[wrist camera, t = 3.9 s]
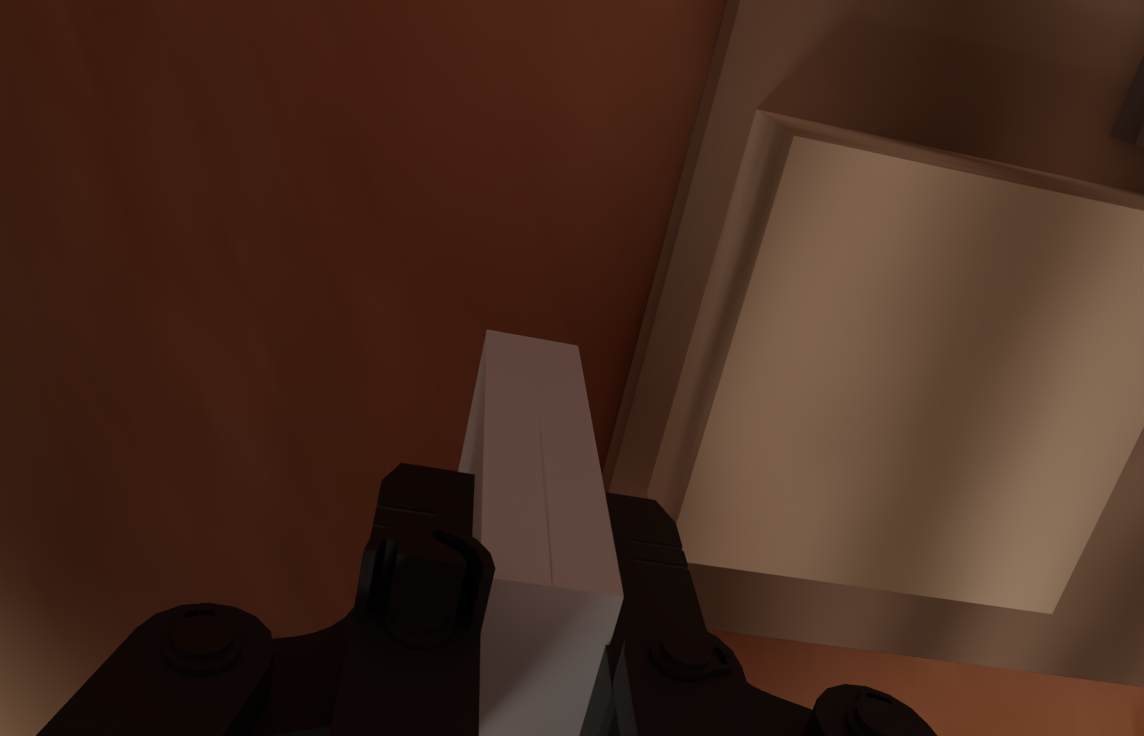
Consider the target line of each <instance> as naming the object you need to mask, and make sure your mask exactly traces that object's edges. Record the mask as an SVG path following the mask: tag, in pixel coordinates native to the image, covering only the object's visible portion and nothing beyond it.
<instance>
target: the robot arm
mask: <svg viewBox="0 0 1144 736" xmlns="http://www.w3.org/2000/svg"><path fill="white" fill-rule="evenodd" d="M682 547H683V546H682V542H681V539H680V536H679V532H678V529H677V525H676V522H675V521H674V520H673V519H672V518H671V517H670V516H669V515H668V513H667V512H666V511H665V510H664V509H663V508H662V507H661V506H660V504H659V503H658V502H657V501H656V500H653V499H647V498H640V497H634V496H627V495H621V494H615V493H608V492H605V491H604V485H603V480H602V474H601V469H600V463H599V458H598V452H597V447H596V441H595V436H594V430H593V425H592V419H591V414H590V408H589V403H588V397H587V392H586V386H585V381H584V375H583V370H582V364H581V359H580V353H579V348H578V346H577V345H572V344H566V343H560V342H555V341H549V340H544V339H538V338H532V337H527V336H521V335H516V334H510V333H504V332H499V331H493V330H487V331H486V336H485V340H484V345H483V350H482V355H481V360H480V365H479V370H478V375H477V380H476V385H475V390H474V395H473V400H472V405H471V410H470V415H469V420H468V425H467V430H466V435H465V440H464V445H463V450H462V455H461V460H460V465H459V470H458V472H457V471H450V470H444V469H438V468H431V467H425V466H418V465H412V464H406V463H401V464H400V465H398V466H397V467H396V468H395V469H394V470H393V471H392V472H391V473H390V474H388V475H387V476H386V477H385V478H384V479H383V480H382V482H381V487H380V492H379V497H378V502H377V508H376V512H375V517H374V522H373V527H372V532H371V537H370V540H369V542H368V543H367V545H366V547H365V549H364V552H363V558H362V564H361V570H360V576H359V582H358V588H357V594H356V600H355V606H354V608H353V609H352V610H351V611H350V612H349V613H348V614H347V616H346V617H345V618H343V619H342V620H340V621H339V622H337V623H336V624H334V625H333V626H331V627H328V628H326V629H323V630H320V631H318V632H315V633H311V634H306V635H300V636H295V637H286V638H276V639H272V635H271V631H270V630H269V629H268V628H267V627H266V626H265V625H264V624H263V623H262V622H261V621H260V620H259V619H258V618H257V617H256V616H253V615H251V614H249V613H247V612H245V611H243V610H240V609H238V608H236V607H232V606H226V605H219V604H213V603H201V604H189V605H180V606H177V607H174V608H172V609H169V610H166V611H163V612H160V613H157V614H155V615H154V616H152V617H151V618H150V619H148V620H147V621H145V622H144V623H143V624H141V625H140V626H139V627H137V628H136V629H135V630H134V631H133V632H132V633H131V634H130V635H129V637H128V638H127V639H126V640H125V641H124V642H123V643H122V644H121V645H120V646H119V647H118V648H117V649H116V650H115V652H114V653H113V654H112V655H111V656H110V657H109V658H108V659H107V660H106V661H105V662H104V663H103V664H102V665H101V666H100V668H99V669H98V670H97V671H96V672H95V673H94V674H93V675H92V676H91V677H90V678H89V679H88V680H87V681H86V683H85V684H84V685H83V686H82V687H81V688H80V689H79V690H78V691H77V692H76V693H75V694H74V695H73V696H72V698H71V699H70V700H69V701H68V702H67V703H66V704H65V705H64V706H63V707H62V708H61V709H60V710H59V711H58V713H57V714H56V715H55V716H54V717H53V718H52V719H51V720H50V721H49V722H48V723H47V724H46V725H45V726H44V728H43V729H42V730H41V731H40V732H39V733H38V734H37V735H36V736H937V735H936V734H935V732H934V731H933V730H932V728H931V727H930V726H929V725H928V724H927V723H926V722H925V721H924V720H923V719H922V718H921V717H920V716H919V715H918V714H917V713H916V712H915V711H914V710H913V709H912V708H910V707H908V706H907V705H905V704H904V703H902V702H900V701H899V700H897V699H896V698H894V697H892V696H891V695H889V694H886V693H883V692H881V691H878V690H875V689H872V688H869V687H867V686H859V685H849V684H843V685H839V686H835V687H831V688H827V689H826V690H825V691H824V692H823V693H822V694H821V695H820V696H819V697H818V698H817V700H816V703H815V705H814V708H813V710H811V709H809V708H806V707H803V706H801V705H798V704H795V703H792V702H790V701H787V700H784V699H781V698H779V697H776V696H773V695H771V694H769V693H766V692H764V691H762V690H760V689H758V688H755V687H754V686H752V685H750V684H749V683H747V681H746V678H745V675H744V672H743V669H742V666H741V665H740V663H739V661H738V659H737V658H736V656H735V654H734V652H733V651H732V650H731V649H730V648H729V647H728V646H726V645H725V644H724V643H723V642H722V641H721V640H720V639H719V638H718V637H716V636H714V635H712V634H711V633H709V632H707V629H706V626H705V622H704V619H703V615H702V612H701V608H700V605H699V601H698V598H697V594H696V591H695V588H694V584H693V581H692V577H691V574H690V570H688V563H687V560H686V556H685V553H684V551H682Z"/></svg>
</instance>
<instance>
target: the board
mask: <svg viewBox="0 0 1144 736" xmlns="http://www.w3.org/2000/svg"><path fill="white" fill-rule="evenodd" d="M756 109H758V110H763V111H767V112H772V113H777V114H781V115H786V116H790V117H795V118H799V119H804V120H809V121H813V122H818V123H822V124H827V125H832V126H836V127H841V128H845V129H850V130H854V131H859V132H864V133H868V134H873V135H877V136H882V137H887V138H891V139H896V140H900V141H905V142H909V143H914V144H919V145H923V146H928V147H932V148H937V149H942V150H946V151H951V152H955V153H960V154H964V155H969V156H974V157H978V158H983V159H987V160H992V161H997V162H1001V163H1006V164H1010V165H1015V166H1019V167H1024V168H1029V169H1033V170H1038V171H1042V172H1047V173H1052V174H1056V175H1061V176H1065V177H1070V178H1074V179H1079V180H1084V181H1088V182H1093V183H1097V184H1102V185H1107V186H1111V187H1116V188H1120V189H1125V190H1129V191H1134V192H1139V193H1143V194H1144V0H727V2H726V6H725V10H724V14H723V17H722V21H721V25H720V29H719V33H718V36H717V40H716V44H715V48H714V52H713V55H712V59H711V63H710V67H709V71H708V74H707V78H706V82H705V86H704V90H703V93H702V97H701V101H700V105H699V109H698V112H697V116H696V120H695V124H694V128H693V131H692V135H691V139H690V143H689V146H688V150H687V154H686V158H685V162H684V165H683V169H682V173H681V177H680V181H679V184H678V188H677V192H676V196H675V200H674V203H673V207H672V211H671V215H670V219H669V222H668V226H667V230H666V234H665V238H664V241H663V245H662V249H661V253H660V257H659V260H658V264H657V268H656V272H655V276H654V279H653V283H652V287H651V291H650V295H649V298H648V302H647V306H646V310H645V314H644V317H643V321H642V325H641V329H640V333H639V336H638V340H637V344H636V348H635V352H634V355H633V359H632V363H631V367H630V371H629V374H628V378H627V382H626V386H625V390H624V393H623V397H622V401H621V405H620V409H619V412H618V416H617V420H616V424H615V428H614V431H613V435H612V439H611V443H610V447H609V450H608V454H607V458H606V462H605V466H604V469H603V473H602V480H603V485H604V491H605V492H608V493H615V494H621V495H627V496H634V497H640V498H647V499H649V498H648V494H647V491H648V488H649V484H650V481H651V477H652V474H653V470H654V467H655V463H656V460H657V456H658V453H659V449H660V446H661V442H662V439H663V435H664V432H665V428H666V425H667V421H668V418H669V414H670V411H671V407H672V404H673V400H674V397H675V393H676V390H677V386H678V383H679V379H680V376H681V372H682V369H683V365H684V362H685V358H686V355H687V351H688V348H689V344H690V341H691V337H692V334H693V330H694V327H695V323H696V320H697V316H698V313H699V309H700V306H701V302H702V299H703V295H704V292H705V288H706V285H707V281H708V277H709V274H710V270H711V267H712V263H713V260H714V256H715V253H716V249H717V246H718V242H719V239H720V235H721V232H722V228H723V225H724V221H725V218H726V214H727V211H728V207H729V204H730V200H731V197H732V193H733V190H734V186H735V183H736V179H737V176H738V172H739V169H740V165H741V162H742V158H743V155H744V151H745V148H746V144H747V141H748V137H749V134H750V130H751V127H752V123H753V120H754V116H755V113H756ZM687 563H688V562H687ZM688 570H690V574H691V577H692V581H693V584H694V588H695V591H696V594H697V598H698V601H699V605H700V608H701V612H702V615H703V619H704V622H705V626H706V629H707V630H715V631H723V632H730V633H738V634H745V635H753V636H761V637H768V638H776V639H783V640H791V641H799V642H806V643H814V644H821V645H829V646H837V647H844V648H852V649H859V650H867V651H875V652H882V653H890V654H897V655H905V656H913V657H920V658H928V659H935V660H943V661H951V662H958V663H966V664H973V665H981V666H989V667H996V668H1004V669H1011V670H1019V671H1027V672H1034V673H1042V674H1049V675H1057V676H1065V677H1072V678H1080V679H1087V680H1095V681H1103V682H1110V683H1118V684H1125V685H1133V686H1141V687H1144V427H1143V429H1142V431H1141V433H1140V436H1139V438H1138V440H1137V442H1136V444H1135V446H1134V448H1133V450H1132V452H1131V454H1130V456H1129V458H1128V460H1127V462H1126V464H1125V466H1124V468H1123V470H1122V472H1121V474H1120V476H1119V478H1118V480H1117V483H1116V485H1115V487H1114V489H1113V491H1112V493H1111V495H1110V497H1109V499H1108V501H1107V503H1106V505H1105V507H1104V509H1103V511H1102V513H1101V515H1100V517H1099V519H1098V521H1097V523H1096V525H1095V527H1094V529H1093V532H1092V534H1091V536H1090V538H1089V540H1088V542H1087V544H1086V546H1085V548H1084V550H1083V552H1082V554H1081V556H1080V558H1079V560H1078V562H1077V564H1076V566H1075V568H1074V570H1073V572H1072V574H1071V576H1070V579H1069V581H1068V583H1067V585H1066V587H1065V589H1064V591H1063V593H1062V595H1061V597H1060V599H1059V601H1058V603H1057V605H1056V607H1055V609H1054V611H1053V613H1052V614H1047V613H1040V612H1033V611H1026V610H1019V609H1012V608H1005V607H998V606H991V605H984V604H977V603H970V602H963V601H956V600H949V599H942V598H935V597H927V596H920V595H913V594H906V593H899V592H892V591H885V590H878V589H871V588H864V587H857V586H850V585H843V584H836V583H829V582H822V581H815V580H808V579H801V578H794V577H787V576H780V575H773V574H766V573H759V572H752V571H745V570H737V569H730V568H723V567H716V566H709V565H702V564H695V563H688Z"/></svg>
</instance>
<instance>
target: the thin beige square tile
mask: <svg viewBox="0 0 1144 736" xmlns="http://www.w3.org/2000/svg"><path fill="white" fill-rule="evenodd" d="M1143 427H1144V194H1143V193H1139V192H1134V191H1129V190H1125V189H1120V188H1116V187H1111V186H1107V185H1102V184H1097V183H1093V182H1088V181H1084V180H1079V179H1074V178H1070V177H1065V176H1061V175H1056V174H1052V173H1047V172H1042V171H1038V170H1033V169H1029V168H1024V167H1019V166H1015V165H1010V164H1006V163H1001V162H997V161H992V160H987V159H983V158H978V157H974V156H969V155H964V154H960V153H955V152H951V151H946V150H942V149H937V148H932V147H928V146H923V145H919V144H914V143H909V142H905V141H900V140H896V139H891V138H887V137H882V136H877V135H873V134H868V133H864V132H859V131H854V130H850V129H845V128H841V127H836V126H832V125H827V124H822V123H818V122H813V121H809V120H804V119H799V118H795V117H790V116H786V115H781V114H777V113H772V112H767V111H763V110H758V109H756V113H755V116H754V120H753V123H752V127H751V130H750V134H749V137H748V141H747V144H746V148H745V151H744V155H743V158H742V162H741V165H740V169H739V172H738V176H737V179H736V183H735V186H734V190H733V193H732V197H731V200H730V204H729V207H728V211H727V214H726V218H725V221H724V225H723V228H722V232H721V235H720V239H719V242H718V246H717V249H716V253H715V256H714V260H713V263H712V267H711V270H710V274H709V277H708V281H707V285H706V288H705V292H704V295H703V299H702V302H701V306H700V309H699V313H698V316H697V320H696V323H695V327H694V330H693V334H692V337H691V341H690V344H689V348H688V351H687V355H686V358H685V362H684V365H683V369H682V372H681V376H680V379H679V383H678V386H677V390H676V393H675V397H674V400H673V404H672V407H671V411H670V414H669V418H668V421H667V425H666V428H665V432H664V435H663V439H662V442H661V446H660V449H659V453H658V456H657V460H656V463H655V467H654V470H653V474H652V477H651V481H650V484H649V488H648V491H647V494H648V498H649V499H653V500H656V501H657V502H658V503H659V504H660V506H661V507H662V508H663V509H664V510H665V511H666V512H667V513H668V515H669V516H670V517H671V518H672V519H673V520H674V521H675V522H676V525H677V529H678V532H679V536H680V539H681V542H682V546H683V547H682V551H684V553H685V556H686V560H687V562H688V563H695V564H702V565H709V566H716V567H723V568H730V569H737V570H745V571H752V572H759V573H766V574H773V575H780V576H787V577H794V578H801V579H808V580H815V581H822V582H829V583H836V584H843V585H850V586H857V587H864V588H871V589H878V590H885V591H892V592H899V593H906V594H913V595H920V596H927V597H935V598H942V599H949V600H956V601H963V602H970V603H977V604H984V605H991V606H998V607H1005V608H1012V609H1019V610H1026V611H1033V612H1040V613H1047V614H1052V613H1053V611H1054V609H1055V607H1056V605H1057V603H1058V601H1059V599H1060V597H1061V595H1062V593H1063V591H1064V589H1065V587H1066V585H1067V583H1068V581H1069V579H1070V576H1071V574H1072V572H1073V570H1074V568H1075V566H1076V564H1077V562H1078V560H1079V558H1080V556H1081V554H1082V552H1083V550H1084V548H1085V546H1086V544H1087V542H1088V540H1089V538H1090V536H1091V534H1092V532H1093V529H1094V527H1095V525H1096V523H1097V521H1098V519H1099V517H1100V515H1101V513H1102V511H1103V509H1104V507H1105V505H1106V503H1107V501H1108V499H1109V497H1110V495H1111V493H1112V491H1113V489H1114V487H1115V485H1116V483H1117V480H1118V478H1119V476H1120V474H1121V472H1122V470H1123V468H1124V466H1125V464H1126V462H1127V460H1128V458H1129V456H1130V454H1131V452H1132V450H1133V448H1134V446H1135V444H1136V442H1137V440H1138V438H1139V436H1140V433H1141V431H1142V429H1143Z"/></svg>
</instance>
